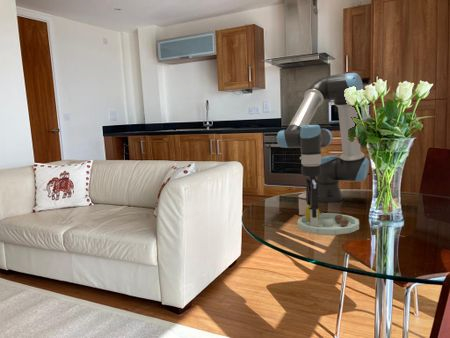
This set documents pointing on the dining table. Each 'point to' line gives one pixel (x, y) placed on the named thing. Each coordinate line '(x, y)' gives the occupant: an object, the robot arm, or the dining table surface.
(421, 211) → the dining table surface
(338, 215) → the walnut bead
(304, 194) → the teacup with lid
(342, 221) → the walnut bead
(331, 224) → the tray
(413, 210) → the dining table surface
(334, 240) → the dining table surface
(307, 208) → the lemon
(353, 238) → the dining table surface
